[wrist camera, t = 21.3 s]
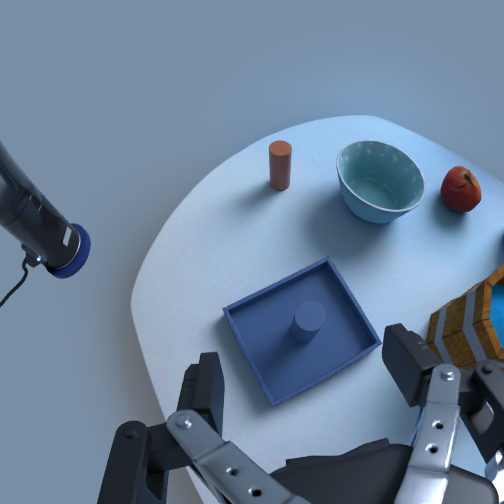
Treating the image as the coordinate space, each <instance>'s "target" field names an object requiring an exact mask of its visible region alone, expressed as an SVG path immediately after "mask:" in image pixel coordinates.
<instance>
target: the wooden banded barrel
mask: <svg viewBox="0 0 504 504" xmlns="http://www.w3.org/2000/svg"><path fill="white" fill-rule="evenodd" d="M426 344H427V345H428V346H429V348H431V350H432V351H433V352H434V353H435V354H436V356H437V357H438V358H439V359H440V361H441V362H442V363H443V364H451V365H454V366H455V367H457V368H458V369H459V371H470V370H474V368H475V366H476V364H477V363H478V362H479V361H481V360H491V361H493V362H495V363H496V364H497V365H498V366H499V367H500V368H501V369H502V370H503V372H504V264H503V265H502V266H500V267H499V268H498V269H497V270H496V271H495V272H494V273H492V274H491V275H490V276H489V277H488V278H487V279H485V280H483V281H482V282H480V283H478V284H476V285H474V286H473V287H472V288H471V289H469V290H468V291H467V292H465V293H464V294H463V295H462V296H460V297H458V298H456V299H453V300H451V301H450V302H448V303H447V304H446V305H444V306H443V307H441V308H440V309H439V310H437V311H436V312H434V313H433V314H432V315H431V320H430V325H429V330H428V335H427V340H426Z"/></svg>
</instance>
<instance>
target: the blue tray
mask: <svg viewBox="0 0 504 504" xmlns="http://www.w3.org/2000/svg"><path fill="white" fill-rule="evenodd" d="M305 301H315V302H318V303H319V304H321V305H322V306H323V308H324V310H325V312H326V320H325V323H324V324H323V326H322V327H321V329H320V330H319V331H318V333H317V334H316V335H315V336H314V338H313V339H312V340H311V341H310V342H308V343H304V344H301V343H297V342H296V341H294V340H293V339H292V337H291V335H290V328H291V324H292V321H293V317H294V314H295V311H296V309H297V307H298V306H299V305H300V304H301V303H303V302H305ZM222 309H223V311H224V313H225V315H226V317H227V320H228V322H229V324H230V326H231V328H232V330H233V332H234V334H235V336H236V338H237V340H238V342H239V344H240V346H241V348H242V350H243V352H244V354H245V356H246V358H247V360H248V362H249V364H250V366H251V368H252V370H253V372H254V374H255V376H256V378H257V380H258V382H259V383H260V385H261V387H262V389H263V391H264V393H265V395H266V397H267V399H268V401H269V402H270V404H271V406H272V407H273V406H275V405H277V404H279V403H281V402H283V401H285V400H287V399H289V398H291V397H293V396H295V395H297V394H299V393H301V392H303V391H305V390H307V389H308V388H310V387H312V386H314V385H316V384H317V383H319V382H321V381H323V380H325V379H326V378H328V377H330V376H332V375H333V374H335V373H337V372H338V371H340V370H342V369H343V368H345V367H347V366H348V365H350V364H352V363H353V362H355V361H356V360H358V359H360V358H361V357H363V356H364V355H366V354H367V353H369V352H370V351H372V350H373V349H375V348H376V347H378V346H379V345H381V344H382V342H381V341H380V339H379V337H378V335H377V334H376V332H375V330H374V329H373V327H372V325H371V324H370V322H369V320H368V319H367V317H366V315H365V314H364V312H363V310H362V309H361V307H360V305H359V304H358V302H357V300H356V299H355V297H354V296H353V294H352V292H351V291H350V289H349V288H348V286H347V284H346V283H345V281H344V280H343V278H342V277H341V275H340V273H339V272H338V270H337V269H336V267H335V266H334V264H333V263H332V261H331V259H330V258H329V256H327V257H325V258H324V259H322V260H320V261H318V262H316V263H314V264H312V265H310V266H308V267H306V268H304V269H302V270H300V271H298V272H296V273H294V274H292V275H290V276H288V277H286V278H284V279H282V280H280V281H278V282H276V283H274V284H272V285H270V286H268V287H266V288H264V289H262V290H260V291H258V292H256V293H254V294H251V295H249V296H247V297H245V298H243V299H241V300H239V301H237V302H235V303H233V304H231V305H229V306H227V307H224V308H222Z"/></svg>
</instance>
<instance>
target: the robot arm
mask: <svg viewBox="0 0 504 504" xmlns="http://www.w3.org/2000/svg"><path fill="white" fill-rule="evenodd" d="M0 225H1V226H2V227H3V228H4V229H5V230H7V231H8V232H9V233H10V234H11V235H13V236H14V237H15V238H16V239H17V240H19V241H20V242H21V247H22V249H23V250H24V251H25V252H26V257H25V259H24V261H23V264H22V268H23V269H24V271H25V274H24V276H23V278H22V279H21V281H20V282H19V283H18V284H17V285H16V286H15V287H14V288H13V289H12V290H11V291H10V292H9V293H8V294H7V295H6V296H5V298H4V299H3V300H2V301H1V302H0V307H1V306H2V305H3V304H4V303H5V301H6V300H7V299H8V298H9V297H10V296H11V295H12V294H13V293H14V291H16V290H17V289H18V288H19V287H20V286H21V285H22V284H23V282H24V281H25V279H26V277H27V274H28V270H27V268H26V267H25V265H26V263H27V264H29V265H30V266H31V267H33V268H34V267H36V266H37V265H39V264H40V263H41V264H43V265H44V266H45V267H47V268H48V269H49V270H50V269H52V268H54V269H63V268H66V267H67V266H69V265H70V264H71V263H72V262H73V261H74V260H75V258H76V257H77V255H78V253H79V251H80V248H81V235H80V233H79V232H78V231H77V230H76V229H75V228H74V227H73V226H72V225H71V224H70V223H69V222H68V221H67V220H66V219H65V218H64V217H63V216H62V215H61V214H60V213H59V211H58V210H57V209H56V208H55V207H54V206H53V205H52V204H51V203H50V202H49V201H48V200H47V198H46V197H45V196H44V195H43V194H42V193H41V192H40V191H39V190H38V188H37V187H36V186H35V185H34V184H33V183H32V181H31V180H30V179H29V178H28V177H27V176H26V174H25V173H24V172H23V171H22V170H21V168H20V167H19V166H18V164H17V163H16V162H15V161H14V160H13V158H12V157H11V155H10V154H9V153H8V151H7V150H6V148H5V147H4V145H3V144H2V142H1V141H0ZM382 359H383V362H384V364H385V366H386V367H387V369H388V371H389V372H390V374H391V376H392V377H393V379H394V381H395V382H396V384H397V386H398V387H399V389H400V391H401V393H402V394H403V396H404V398H405V399H406V401H407V403H408V405H409V406H410V408H411V407H414V406H417V405H419V406H420V410H419V413H418V417H417V420H416V423H415V427H414V430H413V433H412V436H411V439H410V442H409V445H404V444H389V441H388V439H387V438H384V439H380V440H377V441H374V442H370V443H366V444H363V445H361V446H359V447H357V448H355V449H353V450H351V451H349V452H347V453H345V454H343V455H339V456H307V457H300V458H294V459H287V460H286V466H285V467H283V468H280V469H278V470H276V471H274V472H272V473H270V474H267V473H266V472H265V471H264V470H263V469H262V468H260V467H259V466H258V465H257V464H256V463H255V462H253V461H252V460H251V459H250V458H249V457H248V456H247V455H246V454H244V453H243V452H242V451H241V450H240V449H239V448H238V447H237V446H236V445H235V444H234V443H232V442H231V441H227V442H226V441H224V440H223V439H222V425H223V407H224V390H225V385H224V377H223V372H222V368H221V364H220V360H219V356H218V353H217V352H207V353H201V355H200V360H199V364H191V365H190V366H189V367H188V369H187V370H186V371H185V375H184V379H183V383H182V388H181V392H180V397H179V401H178V406H177V410H176V412H174V413H173V414H172V415H170V416H169V418H168V420H167V422H165V423H163V424H160V425H156V426H151V427H146V426H145V424H143V423H142V422H139V421H129V422H126V423H124V424H122V425H121V426H119V428H118V429H117V431H116V434H115V437H114V441H113V444H112V448H111V451H110V455H109V458H108V462H107V466H106V470H105V473H104V478H103V481H102V485H101V490H100V494H99V498H98V502H97V504H166V497H167V485H168V474H169V470H172V469H177V468H180V467H185V466H189V467H190V468H191V469H192V471H193V472H194V473H195V474H196V475H197V477H198V478H199V479H200V480H201V481H202V482H203V484H204V485H205V486H206V487H207V488H208V489H209V490H210V491H211V493H212V494H213V495H214V496H215V498H216V499H217V500H218V501H219V503H220V504H504V372H503V370H502V369H501V368H500V367H499V366H498V365H497V364H496V363H495V362H493V361H491V360H481V361H479V362H478V363H477V364H476V366H475V368H474V370H470V371H459V369H458V368H457V367H455V366H454V365H451V364H443V363H442V362H441V361H440V359H439V358H438V357H437V356H436V354H435V353H434V352H433V351H432V350H431V348H429V346H428V345H427V344H426V343H425V341H424V340H423V339H422V338H421V337H420V335H418V334H416V333H414V332H413V331H407V329H406V328H405V327H404V326H403V325H402V324H401V323H399V324H394V325H390V326H386V328H385V332H384V340H383V347H382ZM486 402H488V403H489V405H490V406H491V408H492V409H493V412H494V415H493V413H492V412H491V410H490V409H489V407H488V406H487V404H486ZM459 415H460V417H461V419H462V420H463V422H464V424H465V426H466V427H467V429H468V431H469V433H470V435H471V436H472V438H473V440H474V442H475V444H476V445H477V447H478V449H479V451H480V453H481V455H482V457H483V459H484V461H485V462H486V464H487V465H486V467H485V476H486V477H485V478H484V477H482V476H479V475H477V474H474V473H472V472H469V471H467V470H464V469H462V468H459V467H457V466H454V465H452V464H450V462H451V458H452V454H453V449H454V444H455V439H456V434H457V428H458V422H459Z"/></svg>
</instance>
